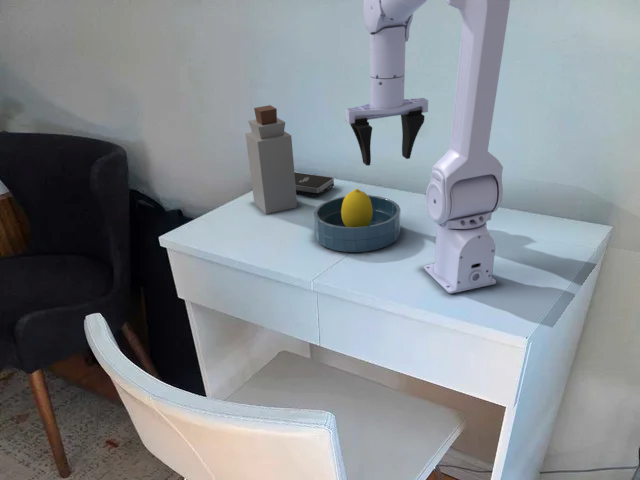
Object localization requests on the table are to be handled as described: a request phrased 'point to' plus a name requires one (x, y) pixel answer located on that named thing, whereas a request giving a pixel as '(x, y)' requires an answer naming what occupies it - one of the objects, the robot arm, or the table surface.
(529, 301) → the table surface
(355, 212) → the lemon
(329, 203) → the bowl
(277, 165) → the perfume bottle
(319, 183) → the external hard drive
